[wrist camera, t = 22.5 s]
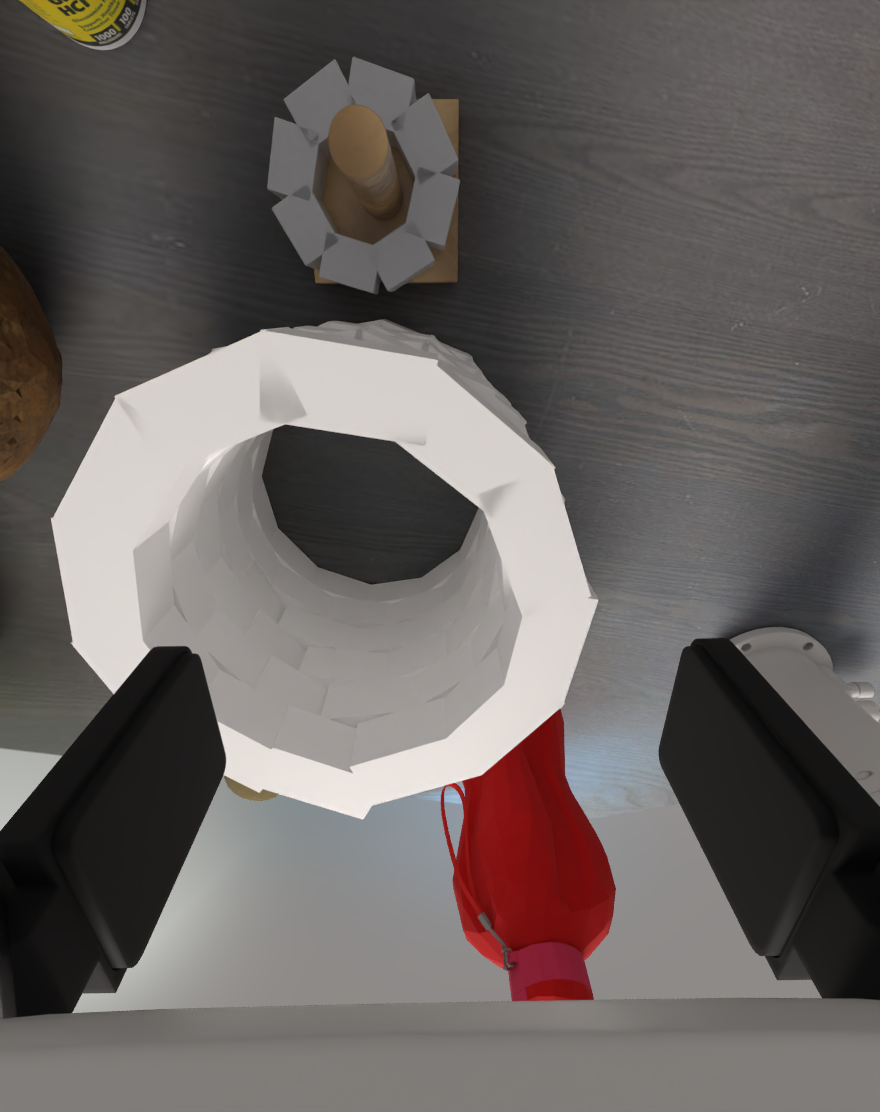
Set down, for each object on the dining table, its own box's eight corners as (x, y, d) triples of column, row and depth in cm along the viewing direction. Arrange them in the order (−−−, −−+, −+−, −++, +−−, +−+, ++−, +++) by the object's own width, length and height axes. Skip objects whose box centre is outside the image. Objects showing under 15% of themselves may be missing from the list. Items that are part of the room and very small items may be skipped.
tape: (475, 121, 29) (479, 101, 26) (429, 310, 33) (429, 310, 30) (297, 57, 28) (283, 30, 25) (273, 262, 32) (258, 258, 29)
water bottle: (461, 636, 46) (490, 952, 23) (566, 677, 48) (684, 1003, 25) (418, 708, 49) (407, 1043, 27) (517, 743, 52) (584, 1080, 29)
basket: (256, 257, 33) (67, 202, 16) (583, 396, 37) (713, 471, 20) (190, 578, 43) (31, 754, 26) (453, 660, 47) (466, 859, 30)
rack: (457, 107, 30) (472, -15, 19) (456, 283, 34) (468, 270, 22) (302, 108, 30) (223, -14, 18) (319, 284, 34) (262, 271, 22)
